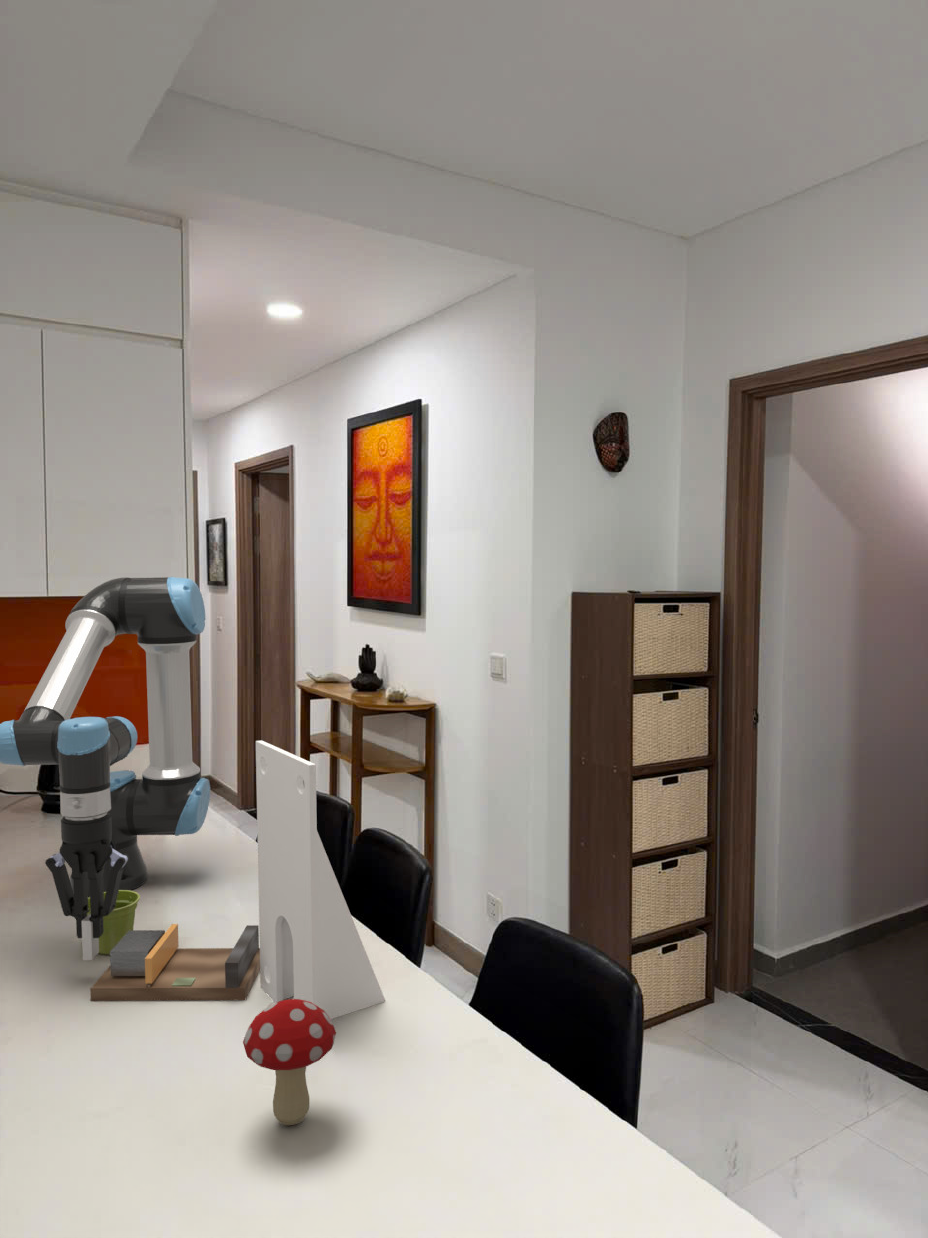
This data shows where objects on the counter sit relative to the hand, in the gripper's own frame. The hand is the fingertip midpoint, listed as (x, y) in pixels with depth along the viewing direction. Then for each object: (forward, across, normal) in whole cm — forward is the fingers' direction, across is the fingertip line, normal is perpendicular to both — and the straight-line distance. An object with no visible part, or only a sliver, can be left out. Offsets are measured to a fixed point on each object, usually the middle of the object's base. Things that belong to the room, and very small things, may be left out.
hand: (90, 956), depth 145 cm
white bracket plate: (+4, +40, -7) cm, 41 cm away
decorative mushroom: (+4, +40, -37) cm, 55 cm away
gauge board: (+4, +15, 0) cm, 15 cm away
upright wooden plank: (+1, +12, 0) cm, 12 cm away
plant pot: (+4, -1, +12) cm, 13 cm away
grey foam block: (+1, +8, 0) cm, 8 cm away
